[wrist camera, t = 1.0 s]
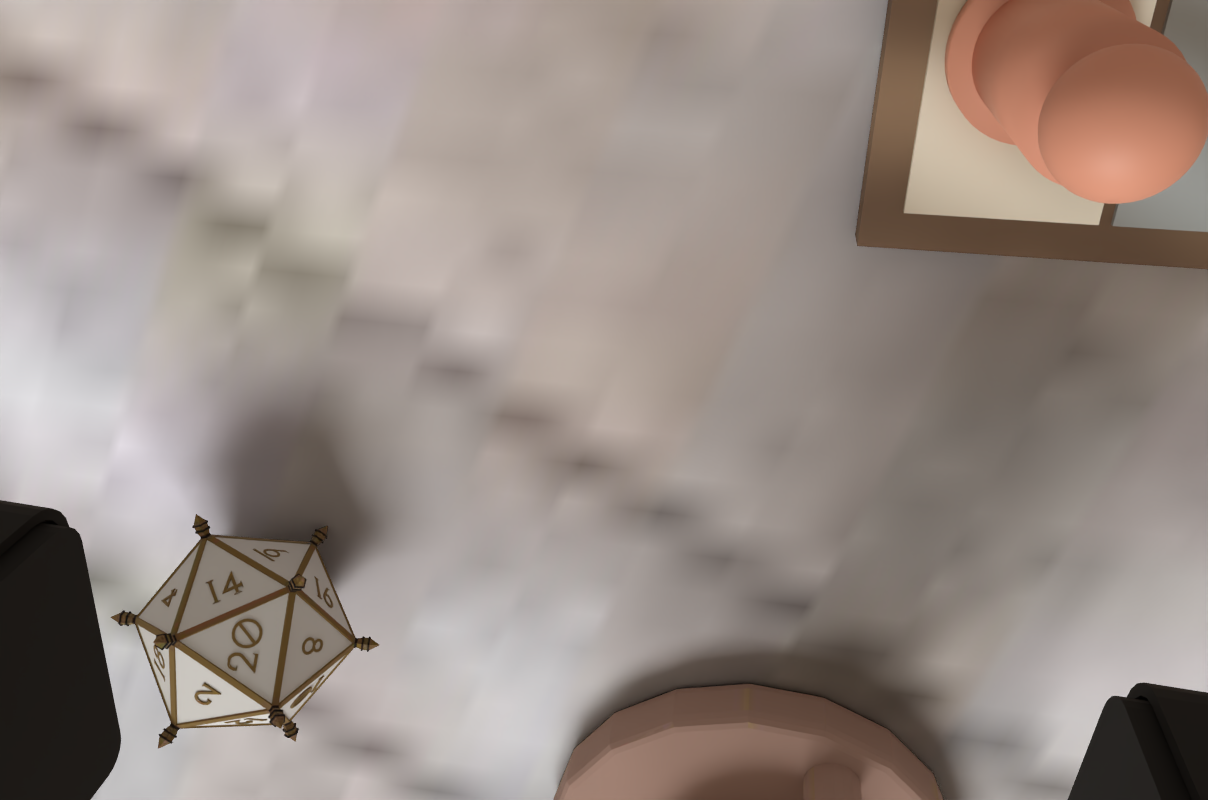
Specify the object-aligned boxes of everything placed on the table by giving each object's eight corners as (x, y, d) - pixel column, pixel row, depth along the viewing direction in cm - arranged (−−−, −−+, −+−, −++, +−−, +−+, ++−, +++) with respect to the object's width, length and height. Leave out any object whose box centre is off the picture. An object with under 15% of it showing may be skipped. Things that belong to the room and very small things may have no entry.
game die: (288, 486, 46) (118, 469, 37) (444, 570, 43) (302, 577, 34) (206, 671, 46) (15, 702, 37) (356, 768, 43) (190, 829, 34)
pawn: (961, -46, 28) (1043, 9, 19) (1150, -40, 27) (1321, 20, 19) (931, 134, 30) (992, 254, 22) (1104, 143, 30) (1237, 270, 21)
